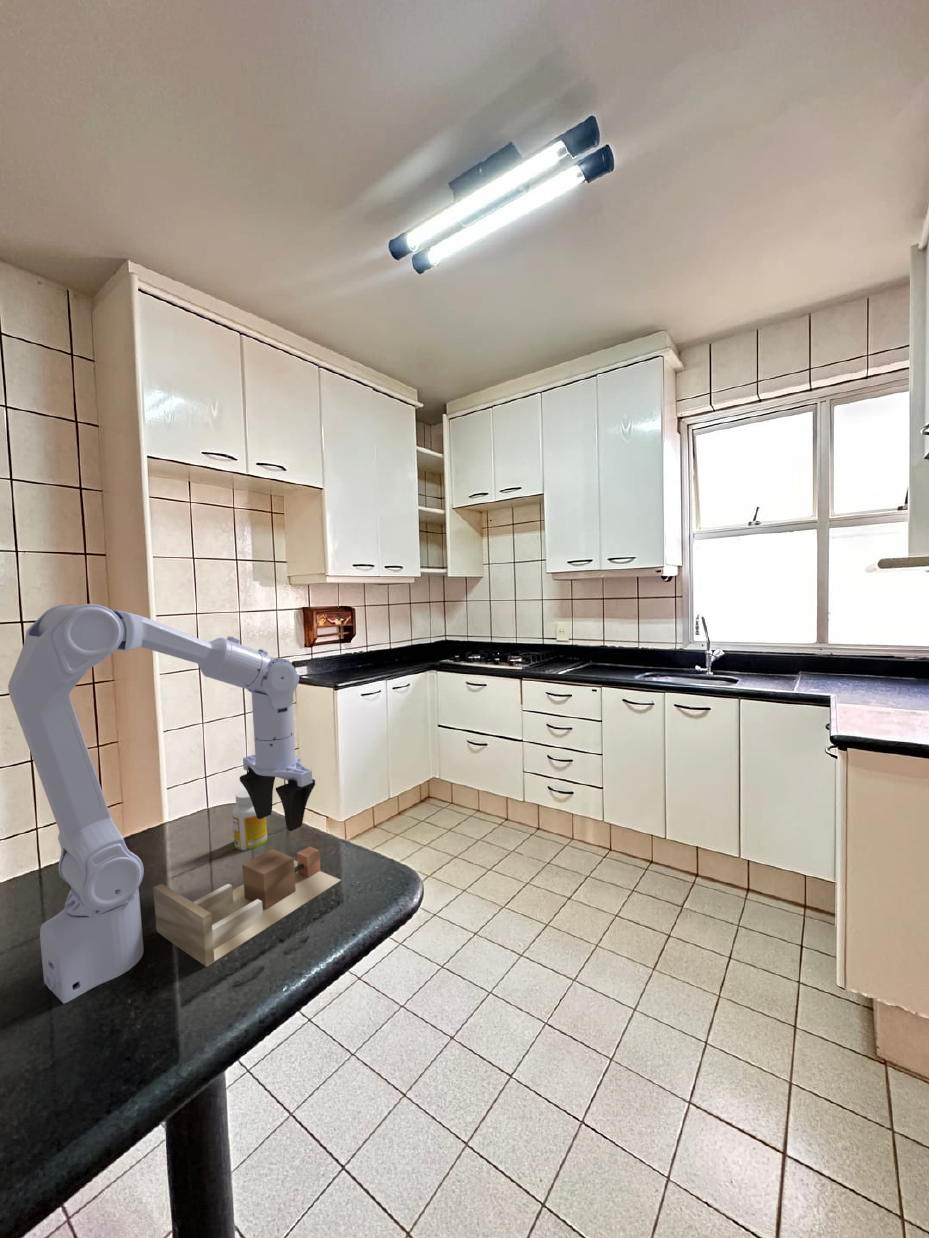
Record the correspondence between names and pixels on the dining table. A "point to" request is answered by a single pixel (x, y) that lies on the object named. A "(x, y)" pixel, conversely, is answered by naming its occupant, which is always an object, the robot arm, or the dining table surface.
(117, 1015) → the dining table surface
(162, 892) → the shelf lane
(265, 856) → the walnut block
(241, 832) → the supplement bottle
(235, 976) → the dining table surface
